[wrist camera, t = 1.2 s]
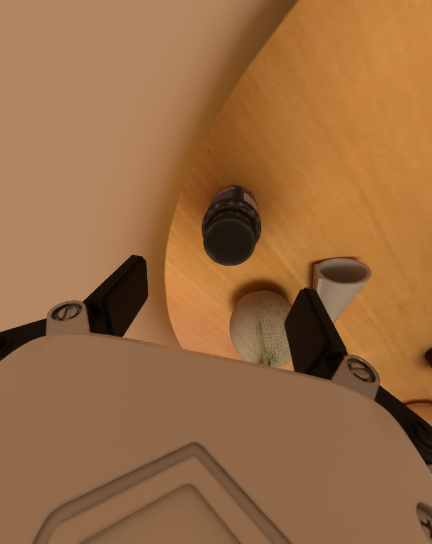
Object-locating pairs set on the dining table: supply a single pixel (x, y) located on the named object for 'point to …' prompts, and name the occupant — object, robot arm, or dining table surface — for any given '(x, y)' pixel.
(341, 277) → the long tapered cone
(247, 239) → the pill bottle
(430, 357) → the coffee mug
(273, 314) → the fruit
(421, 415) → the lidded bowl
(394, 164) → the dining table surface
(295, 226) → the dining table surface
